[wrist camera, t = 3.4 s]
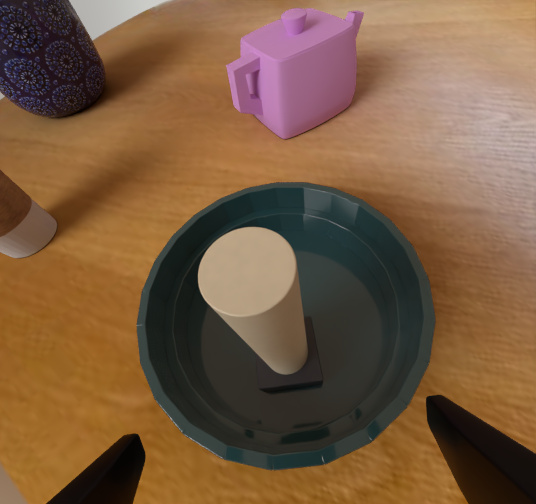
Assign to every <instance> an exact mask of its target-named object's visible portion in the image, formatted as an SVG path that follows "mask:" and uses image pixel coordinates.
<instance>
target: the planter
mask: <svg viewBox="0 0 536 504" xmlns="http://www.w3.org/2000/svg"><path fill="white" fill-rule="evenodd" d="M104 86H105V69H104V65H103V62H102V60H101V57H100V55H99V53H98V51H97V49H96V47H95V45H94V43H93V42H92V40H91V38H90V36H89V34H88V32H87V31H86V29H85V27H84V25H83V24H82V22H81V20H80V18H79V17H78V15H77V13H76V11H75V10H74V8H73V7H72V5H71V3H70V2H69V0H0V92H1V93H2V94H3V95H5V97H7V98H8V99H9V100H10V101H11V102H13V103H14V104H15V105H17V106H18V107H20V108H22V109H24V110H26V111H28V112H30V113H33V114H35V115H39V116H42V117H51V118H55V117H62V116H67V115H71V114H73V113H76V112H78V111H80V110H82V109H84V108H86V107H88V106H89V105H90V104H92V103H93V102H94V101H95V100H96V99H97V98H98V97H99V96H100V95H101V93H102V91H103V89H104Z"/></svg>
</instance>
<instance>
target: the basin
mask: <svg viewBox="0 0 536 504" xmlns="http://www.w3.org/2000/svg"><path fill="white" fill-rule="evenodd" d="M245 227H261V228H266V229H269V230H272V231H274V232H276V233H278V234H279V235H281V236H282V237H283V238H284V239H285V240H286V241H287V242H288V243H289V244H290V246H291V247H292V249H293V251H294V253H295V257H296V262H297V270H298V277H299V285H300V293H301V301H302V308H303V316H304V317H309V316H310V317H311V319H312V324H313V329H314V334H315V339H316V344H317V349H318V354H319V359H320V365H321V370H322V375H323V384H322V385H316V386H309V387H302V388H294V389H287V390H279V391H272V392H264V391H261V390H259V389H258V380H257V367H256V354H255V351H254V350H253V349H252V348H251V347H250V346H249V345H248V344H247V343H246V342H245V341H244V340H243V339H242V338H241V337H240V336H239V335H238V334H237V333H236V332H235V331H234V330H233V329H232V328H231V327H230V326H229V325H228V324H227V323H226V322H225V321H224V320H223V318H222V317H221V316H220V315H219V314H218V313H217V312H216V311H215V310H214V309H213V308H212V307H211V306H210V305H209V304H208V303H207V302H206V301H205V299H204V298H203V296H202V294H201V291H200V289H199V284H198V271H199V266H200V263H201V260H202V258H203V256H204V254H205V253H206V251H207V250H208V248H209V247H210V246H211V245H212V244H213V243H214V242H215V241H216V240H217V239H219V238H220V237H222V236H223V235H225V234H227V233H229V232H231V231H233V230H236V229H240V228H245ZM435 319H436V318H435V312H434V306H433V300H432V294H431V288H430V282H429V278H428V276H427V274H426V272H425V270H424V268H423V266H422V264H421V262H420V260H419V258H418V255H417V253H416V251H415V249H414V247H413V246H412V244H411V243H410V242H409V241H408V240H407V238H406V237H405V236H404V235H403V234H402V233H401V231H400V230H399V229H398V228H397V227H396V226H395V224H394V223H393V222H392V221H391V220H390V219H389V218H387V217H386V216H385V215H383V214H382V213H381V212H379V211H378V210H376V209H375V208H374V207H372V206H371V205H369V204H368V203H367V202H365V201H363V200H362V199H359V198H357V197H355V196H352V195H350V194H348V193H345V192H343V191H340V190H338V189H336V188H332V187H326V186H321V185H316V184H311V183H306V182H276V183H270V184H265V185H260V186H255V187H250V188H246V189H243V190H241V191H238V192H236V193H233V194H230V195H228V196H225V197H223V198H220V199H219V200H217V201H215V202H214V203H212V204H211V205H209V206H208V207H206V208H204V209H203V210H201V211H200V212H198V213H197V214H195V215H194V216H193V217H192V218H191V219H190V220H189V221H187V222H186V223H185V224H184V225H183V226H182V227H181V228H180V229H179V230H178V231H177V232H176V233H175V234H174V235H173V236H172V237H171V238H170V240H169V241H168V243H167V244H166V246H165V247H164V248H163V250H162V251H161V253H160V254H159V256H158V257H157V258H156V260H155V262H154V264H153V266H152V269H151V271H150V273H149V276H148V278H147V281H146V283H145V285H144V288H143V290H142V294H141V300H140V307H139V313H138V319H137V336H138V346H139V355H140V363H141V366H142V369H143V371H144V374H145V376H146V379H147V381H148V383H149V386H150V388H151V391H152V393H153V396H154V398H155V400H156V402H157V403H158V404H159V406H160V407H161V408H162V409H163V411H164V412H165V413H166V414H167V415H168V417H169V418H170V419H171V420H172V421H173V423H174V424H175V425H176V426H177V427H178V429H179V430H180V431H181V432H182V433H183V434H184V435H185V436H186V437H188V438H189V439H191V440H193V441H194V442H196V443H197V444H199V445H201V446H202V447H204V448H206V449H207V450H209V451H210V452H212V453H214V454H215V455H217V456H218V457H220V458H222V459H224V460H227V461H232V462H236V463H241V464H245V465H249V466H254V467H258V468H262V469H267V470H274V471H275V470H284V469H293V468H302V467H311V466H320V465H324V464H325V465H326V464H328V463H330V462H332V461H334V460H336V459H338V458H340V457H342V456H344V455H347V454H349V453H351V452H353V451H355V450H357V449H359V448H361V447H363V446H365V445H367V444H369V443H371V442H372V441H374V440H375V439H376V438H377V437H378V436H379V435H380V434H381V433H382V432H383V431H384V430H385V429H386V428H387V427H388V426H389V425H390V424H391V423H392V422H393V421H394V420H395V419H396V418H397V417H398V416H399V415H400V414H401V413H402V412H403V411H404V410H405V409H406V408H407V406H408V405H409V404H410V402H411V400H412V398H413V396H414V394H415V392H416V390H417V388H418V386H419V384H420V382H421V380H422V378H423V376H424V374H425V371H426V369H427V367H428V365H429V362H430V356H431V349H432V342H433V335H434V328H435Z"/></svg>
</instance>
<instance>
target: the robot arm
mask: <svg viewBox="0 0 536 504" xmlns="http://www.w3.org/2000/svg"><path fill="white" fill-rule="evenodd" d="M426 409H427V421H428V424H429V427H430V429H431V431H432V433H433V435H434V437H435V439H436V441H437V443H438V446H439V448H440V450H441V452H442V454H443V456H444V458H445V460H446V462H447V464H448V466H449V468H450V470H451V472H452V474H453V476H454V478H455V480H456V482H457V484H458V486H459V488H460V490H461V491H462V493H463V495H464V497H465V498H466V500H467V502H468V503H469V504H536V454H535V453H534V452H532V451H531V450H529V449H527V448H526V447H524V446H523V445H521V444H519V443H518V442H516V441H515V440H513V439H511V438H510V437H508V436H507V435H505V434H503V433H502V432H500V431H499V430H497V429H495V428H494V427H492V426H491V425H489V424H487V423H486V422H484V421H483V420H481V419H479V418H478V417H476V416H475V415H473V414H471V413H470V412H468V411H467V410H465V409H463V408H462V407H460V406H459V405H457V404H455V403H454V402H452V401H451V400H449V399H447V398H446V397H444V396H442V395H434V396H428V397H427V398H426ZM144 463H145V451H144V448H143V445H142V443H141V440H140V437H139V435H138V434H127V435H124V436H122V437H121V438H120V439H119V440H118V441H117V442H115V443H114V444H113V445H112V446H111V447H110V448H109V449H108V450H106V451H105V452H104V453H103V454H102V455H101V456H100V457H99V458H97V459H96V460H95V461H94V462H93V463H92V464H91V465H89V466H88V467H87V468H86V469H85V470H84V471H83V472H82V473H80V474H79V475H78V476H77V477H76V478H75V479H74V480H72V481H71V482H70V483H69V484H68V485H67V486H66V487H65V488H63V489H62V490H61V491H60V492H59V493H58V494H57V495H55V496H54V497H53V498H52V499H51V500H50V501H49V502H48V503H46V504H133V501H134V497H135V494H136V490H137V487H138V484H139V480H140V477H141V474H142V470H143V467H144Z"/></svg>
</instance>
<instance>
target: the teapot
mask: <svg viewBox="0 0 536 504" xmlns="http://www.w3.org/2000/svg"><path fill="white" fill-rule="evenodd" d="M363 15H364V13H363V12H360V11H351V12H348V15H347V17H346V18H345V20H344V19H341V18H339V17H336V16H333V15H330V14H327V13H325V12H322V11H318V10H315V9H312V8H308V9H302V8H294V9H290V10H287V11H286V12H284V13H283V14H282V15H281V19H279V20H277V21H274V22H272V23H270V24H268V25H266V26H263V27H261V28H259V29H257V30H255V31H253V32H251V33H249V34H247V35H246V36H244V37H243V38H242V39H241V58H239V59H237V60H235V61H234V62H232V63H230V64H228V65H226V66H227V71H228V77H229V82H230V87H231V93H232V98H233V104H234V107H235V108H236V109H237V110H238V111H239V112H240V113H249V114H254V115H255V116H256V117H257V118H258V119H259V120H260V121H261V122H262V123H263V124H264V125H265V126H266V127H268V128H269V129H270V130H271V131H273V132H274V133H275V134H276V135H278V136H279V137H280V138H282V139H288V138H291V137H294V136H296V135H299V134H301V133H303V132H305V131H308V130H310V129H312V128H314V127H316V126H318V125H320V124H322V123H324V122H326V121H327V120H329V119H331V118H332V117H334V116H335V115H337V114H339V113H340V112H342V111H343V110H345V109H346V108H347V107H348V106H349V105H350V104H351V101H352V99H353V96H354V93H355V87H356V71H357V58H356V36H357V33H358V30H359V27H360V24H361V21H362V18H363Z"/></svg>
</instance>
